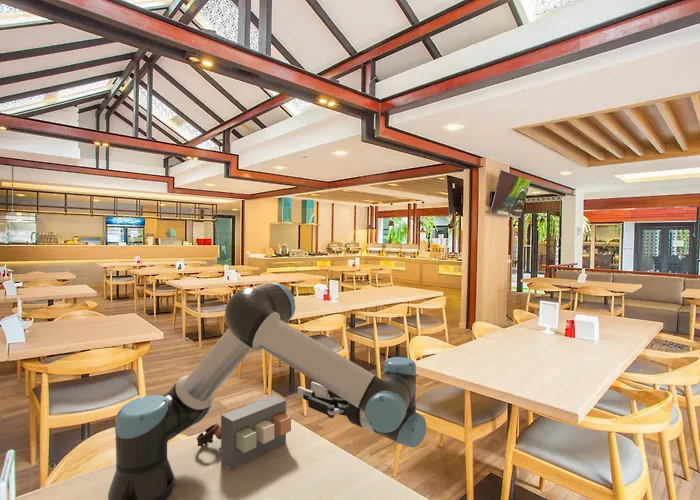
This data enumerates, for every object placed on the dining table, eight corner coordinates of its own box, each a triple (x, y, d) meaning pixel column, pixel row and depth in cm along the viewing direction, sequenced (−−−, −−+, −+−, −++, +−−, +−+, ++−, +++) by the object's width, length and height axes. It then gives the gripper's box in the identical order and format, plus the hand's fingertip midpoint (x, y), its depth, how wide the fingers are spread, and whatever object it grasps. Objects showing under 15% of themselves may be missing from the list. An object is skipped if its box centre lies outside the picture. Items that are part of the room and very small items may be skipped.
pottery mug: (217, 461, 116) (203, 438, 116) (201, 465, 121) (187, 442, 121) (245, 434, 126) (232, 412, 126) (229, 439, 131) (217, 418, 131)
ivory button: (263, 443, 114) (263, 429, 114) (253, 438, 118) (253, 423, 118) (274, 438, 117) (274, 424, 117) (264, 433, 121) (264, 419, 121)
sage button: (244, 452, 110) (244, 437, 109) (234, 446, 113) (234, 431, 113) (256, 447, 113) (256, 432, 112) (246, 441, 116) (246, 426, 116)
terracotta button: (280, 435, 119) (281, 421, 119) (270, 430, 123) (270, 416, 123) (291, 430, 122) (291, 417, 122) (280, 425, 126) (280, 412, 126)
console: (232, 469, 111) (232, 421, 111) (221, 461, 115) (221, 414, 115) (285, 443, 126) (286, 400, 126) (274, 436, 130) (274, 395, 130)
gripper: (344, 440, 93) (281, 411, 108) (387, 415, 106) (326, 392, 121) (344, 409, 93) (281, 384, 108) (387, 388, 106) (326, 368, 121)
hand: (305, 388), depth 115 cm, fingers open, 4 cm apart
